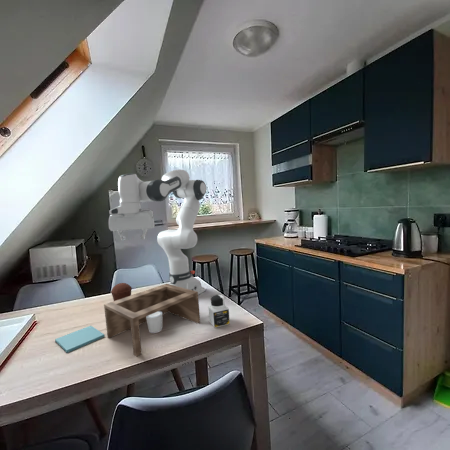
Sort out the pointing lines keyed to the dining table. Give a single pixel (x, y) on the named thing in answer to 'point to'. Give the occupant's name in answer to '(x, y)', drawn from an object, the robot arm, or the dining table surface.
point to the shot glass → (154, 322)
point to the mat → (79, 338)
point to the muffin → (121, 291)
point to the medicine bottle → (218, 311)
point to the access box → (149, 310)
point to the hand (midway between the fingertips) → (133, 239)
